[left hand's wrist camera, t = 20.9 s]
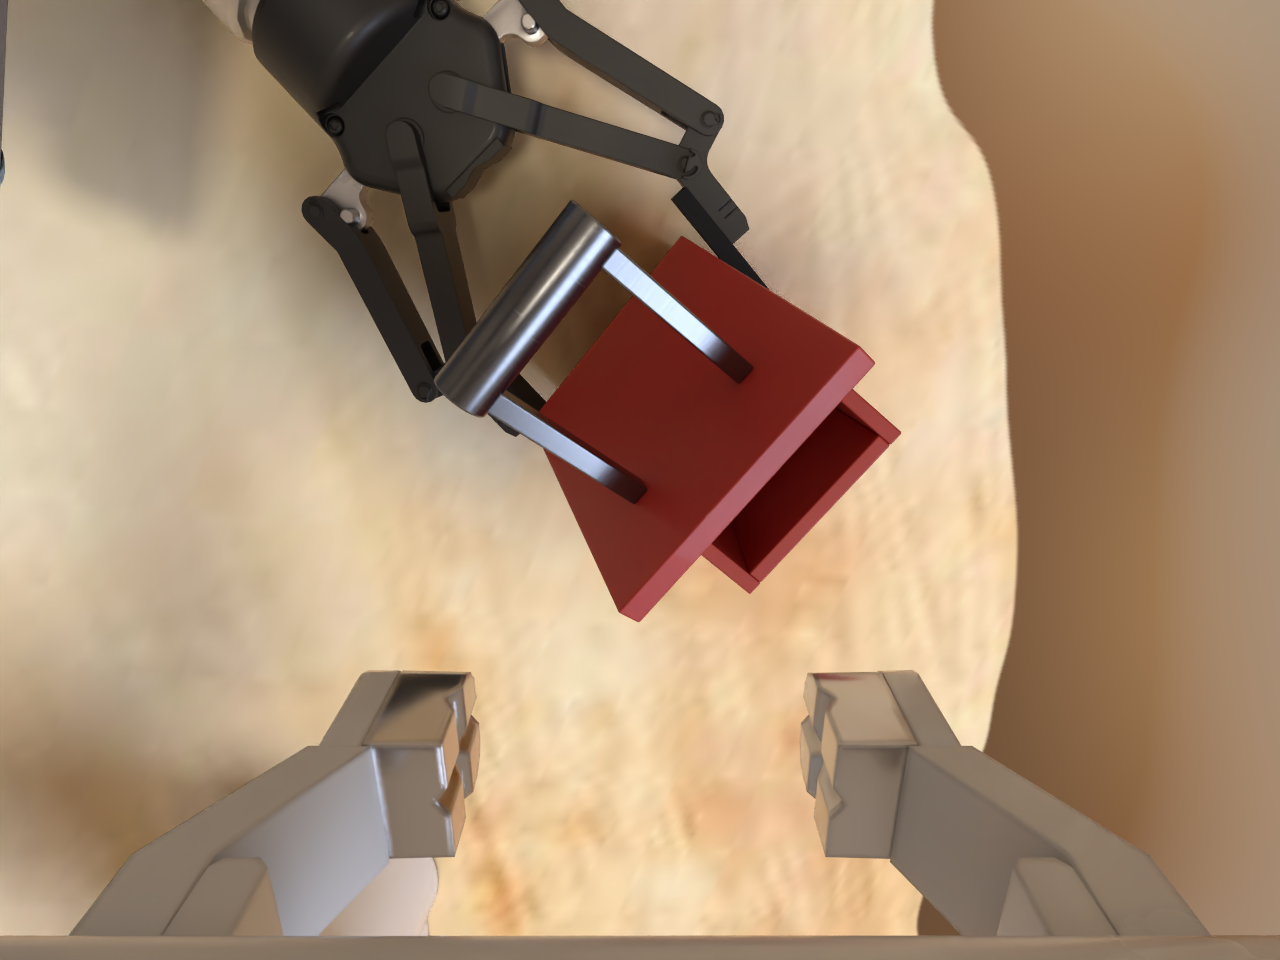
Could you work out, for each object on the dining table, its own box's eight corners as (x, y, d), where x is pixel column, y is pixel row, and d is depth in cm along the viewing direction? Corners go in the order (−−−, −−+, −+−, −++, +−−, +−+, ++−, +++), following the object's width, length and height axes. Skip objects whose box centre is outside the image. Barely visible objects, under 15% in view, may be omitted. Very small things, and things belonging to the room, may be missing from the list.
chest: (850, 403, 42) (902, 433, 33) (730, 534, 44) (750, 594, 35) (679, 252, 40) (687, 242, 31) (562, 396, 42) (539, 424, 33)
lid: (876, 363, 20) (671, 149, 16) (639, 623, 22) (395, 501, 18) (695, 248, 31) (541, 101, 26) (545, 431, 33) (378, 324, 28)
